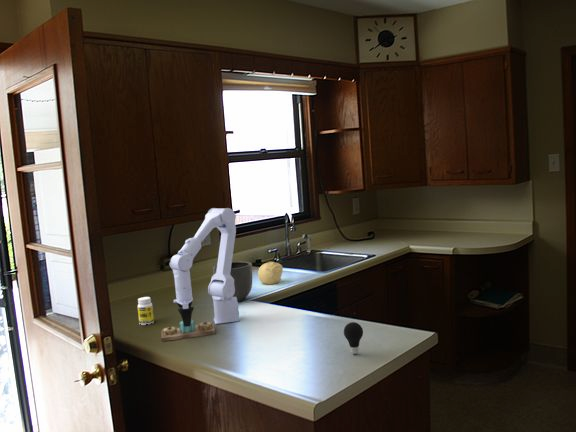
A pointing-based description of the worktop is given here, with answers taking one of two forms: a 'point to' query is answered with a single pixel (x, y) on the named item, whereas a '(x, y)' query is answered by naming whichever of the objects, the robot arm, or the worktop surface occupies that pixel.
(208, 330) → the gear board
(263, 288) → the worktop surface
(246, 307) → the worktop surface
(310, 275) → the worktop surface
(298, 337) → the worktop surface
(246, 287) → the planter
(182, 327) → the teal gear
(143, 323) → the supplement bottle
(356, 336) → the light bulb
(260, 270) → the pale yellow round lump
